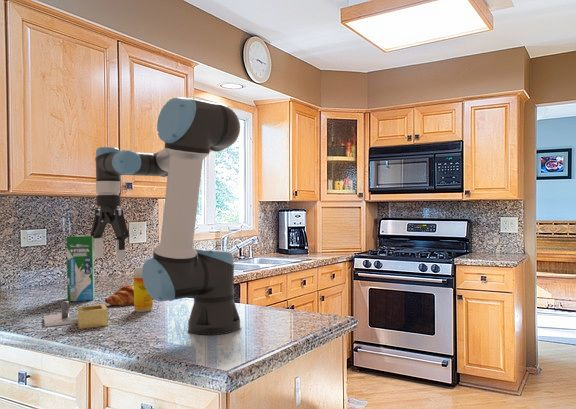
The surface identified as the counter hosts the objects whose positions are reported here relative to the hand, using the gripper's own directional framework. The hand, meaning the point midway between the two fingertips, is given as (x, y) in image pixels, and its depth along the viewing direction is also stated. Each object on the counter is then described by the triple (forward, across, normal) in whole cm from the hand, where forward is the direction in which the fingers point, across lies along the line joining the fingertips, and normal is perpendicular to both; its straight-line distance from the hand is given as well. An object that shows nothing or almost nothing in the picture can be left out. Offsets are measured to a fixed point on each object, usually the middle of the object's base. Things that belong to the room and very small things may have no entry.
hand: (109, 258), depth 158 cm
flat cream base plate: (+19, +6, +12) cm, 23 cm away
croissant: (+19, +14, -17) cm, 29 cm away
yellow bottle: (+19, -2, -12) cm, 22 cm away
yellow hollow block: (+19, -6, +9) cm, 22 cm away
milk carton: (+19, +36, -8) cm, 41 cm away
